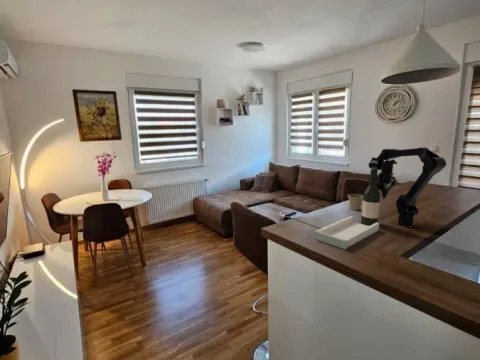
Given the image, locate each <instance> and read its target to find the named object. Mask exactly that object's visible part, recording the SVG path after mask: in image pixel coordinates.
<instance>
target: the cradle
mask: <svg viewBox="0 0 480 360" xmlns="http://www.w3.org/2000/svg"><path fill="white" fill-rule="evenodd" d="M379 230H380V223H379V222H378V223H374V224H373V225H371V226H368V225H364V224H362V223H359V222H355V221H354V216H351V215H350V216H348V217H345V218H343V219H340V220H338V221H335V222H333V223H331V224H328V225H326V226H324V227H322V228H319V229H317V230H314V234H313V238H314V240H316V241H317V240H318V241H321V242H322V243H325V244H328V245H331V246H334V247H336V248H339V249H343V250H346V249H348V248H350V247H352V246H353V245H355V244H357V243H359V242H360V241H363V240H364V239H366V238H368V237H369V236H371V235H373V234H374V233H377V232H379Z"/></svg>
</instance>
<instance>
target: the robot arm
mask: <svg viewBox="0 0 480 360" xmlns="http://www.w3.org/2000/svg"><path fill="white" fill-rule="evenodd" d="M412 156H413V157H414V156H415V157H416V156H418V158H419V160H420V161H421V163H422V165H423V166H422V172H421V173H420V175H419V176H418V177H417V179H416V180H415V182H414V183H413V184H412V186H411V187H410V189H409V190H408V191H407V193H406V194H400V195H399V196H398V198H397V199H396V200H395V201H396V202H395V205H396V210H397V214H398V218H397V220H398V221H397V225H398V224H399V225H398V226H401V225H404V226H403V227H405V226H408V227H407V228H410V226H413V225H414V224H415V222H416V215H418V213H419V212H420V210H419V208H417V205H416V204H417V198H418V197H419V195H420V194H421V193H422V191H423V190H424V189H425V187H426V186H427V184H429V182H430V181H431V179H432V178H433V177H434V176H435V175H437V174H439V173H440V172H441V171H442V170H443V169H444V168H445V167H446V166H447V161H446V159H445V158H444V157H442V156H439V154H437V153H435V152H433V151H431V150H430V149H429V148H428V147H425V146H424V147H418V148H417V147H415V148H405V149H404V148H403V149H399V148H383V149H382V150H381V152H380V154H378V156H377V157H371V160H370V161H369V163H368V168H369V169H370V170H371V169H372V168H377V170H378V171H380V172H379V173H378V174H377V183H376V186H377V188H378V189H379V190H380V193H381V197H382V199H384V200H385V199H386V198H387V197H388V195H389V193H390V192H391V190H392V189H393V188H394V186H396V185H397V186H398V182H399V181H398V180H397V179H393V176H394V172H393V170H394V165H397V164H398V162H397V160H395V159H398V158H402V157H412ZM368 181H370V176H369V178H368ZM392 185H393V186H392ZM413 227H414V226H413Z"/></svg>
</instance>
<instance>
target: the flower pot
mask: <svg viewBox="0 0 480 360" xmlns="http://www.w3.org/2000/svg"><path fill="white" fill-rule="evenodd" d="M347 197H348V205H349V209H350V210H352V211H359V209H360V210H361V206H362V204H363V195H362V194H356V193H355V194H354V193H350V194H347Z"/></svg>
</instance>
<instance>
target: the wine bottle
mask: <svg viewBox="0 0 480 360" xmlns="http://www.w3.org/2000/svg"><path fill="white" fill-rule="evenodd" d="M378 171H379V170H377V168H372V169H370V172H369V173H370V174H369V177H370V180H369V183H368V184H369V185H368V186H367V188H366V189H365V191H364V192H363V195H362V196H363V199H362V204H361V206H362V208H361V219H360V224H363V225H367V226H371V225H373V224H374V223H379V214H380V213H379V212H380V204H381V196H382V192H381V190H380V189H379V188H377V186H376V183H377V182H378V181H377V176H378V174H379V173H378Z"/></svg>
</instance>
